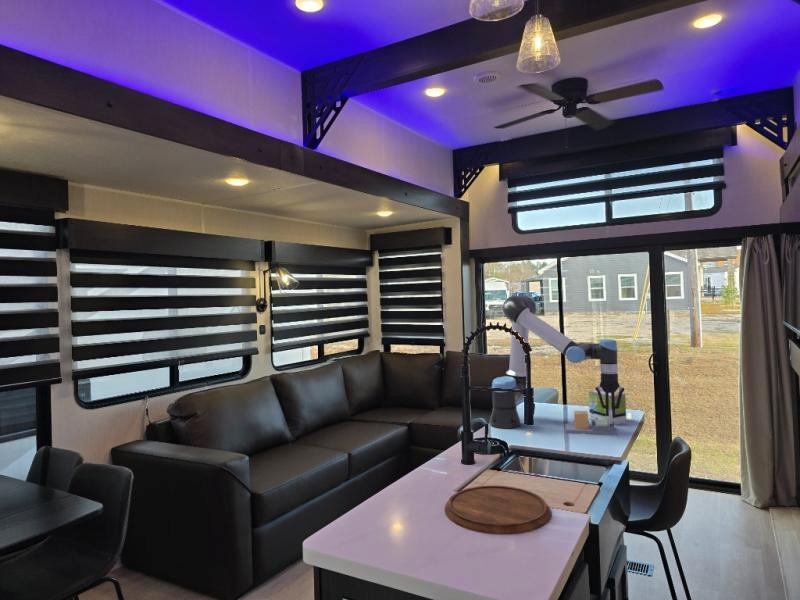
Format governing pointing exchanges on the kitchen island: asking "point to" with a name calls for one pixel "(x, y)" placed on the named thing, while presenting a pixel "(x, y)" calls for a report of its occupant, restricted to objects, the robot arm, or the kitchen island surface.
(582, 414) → the jaw block
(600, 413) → the tea box
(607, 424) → the cover
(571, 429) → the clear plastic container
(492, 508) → the cutting board
